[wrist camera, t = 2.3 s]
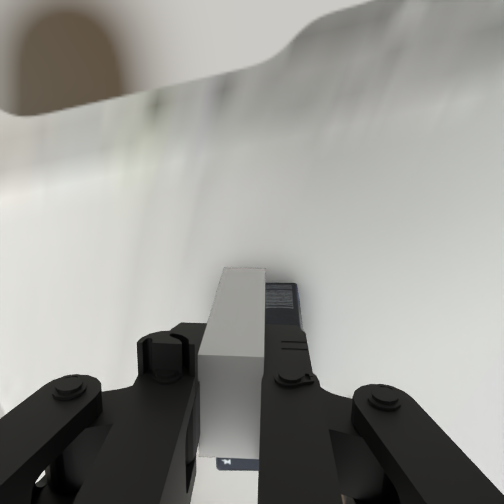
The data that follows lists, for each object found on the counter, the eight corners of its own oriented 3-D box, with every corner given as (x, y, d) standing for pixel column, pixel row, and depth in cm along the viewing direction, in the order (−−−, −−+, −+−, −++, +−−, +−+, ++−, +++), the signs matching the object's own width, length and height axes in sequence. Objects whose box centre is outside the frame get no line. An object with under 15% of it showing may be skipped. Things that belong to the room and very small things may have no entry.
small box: (300, 390, 42) (306, 477, 32) (229, 389, 42) (212, 474, 32) (301, 281, 39) (307, 338, 29) (224, 281, 39) (204, 337, 29)
